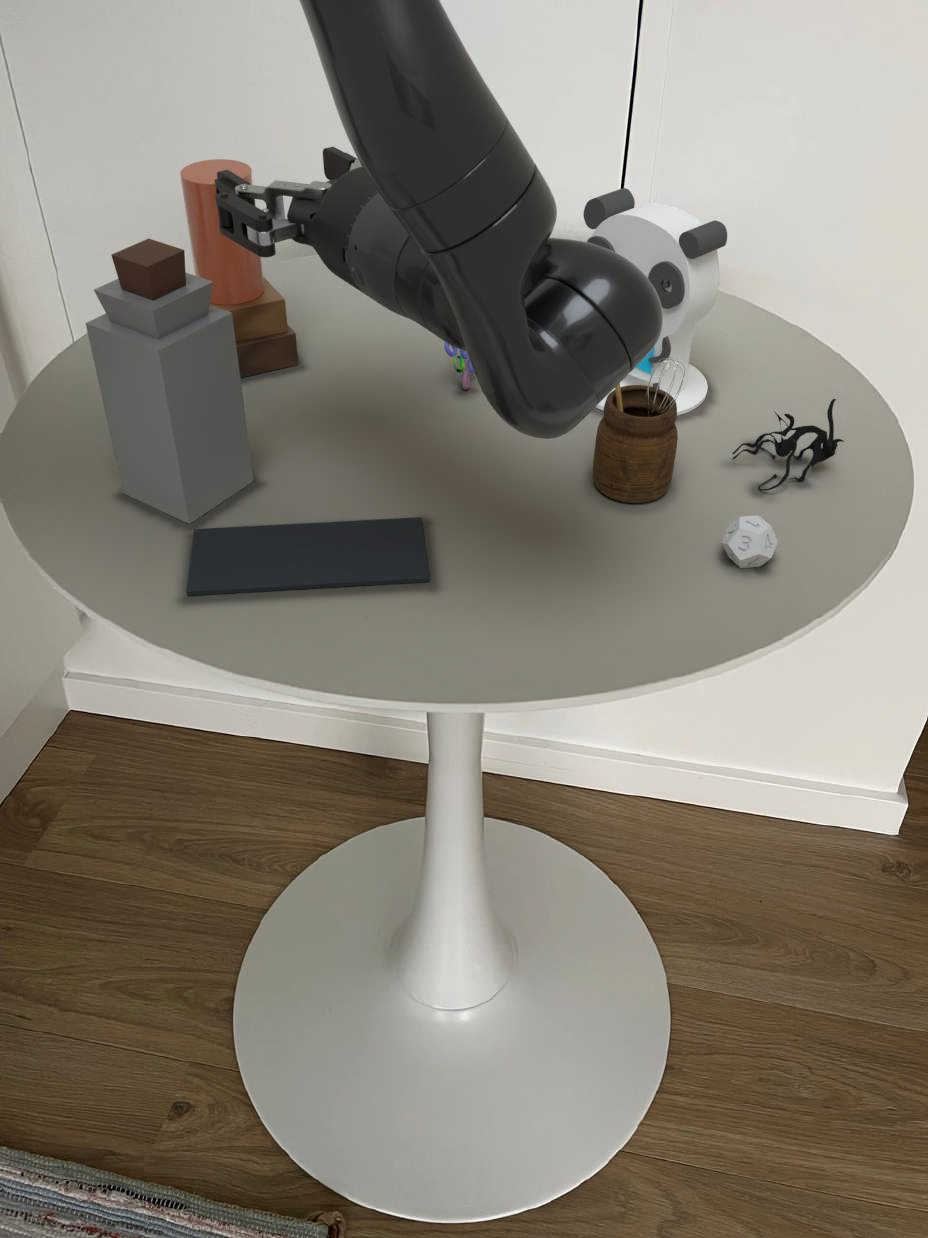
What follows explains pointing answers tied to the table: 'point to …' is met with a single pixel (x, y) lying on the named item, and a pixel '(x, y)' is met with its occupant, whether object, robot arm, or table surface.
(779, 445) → the creature
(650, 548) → the table surface
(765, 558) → the game die
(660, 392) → the utensil holder
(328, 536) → the mat
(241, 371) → the block stack
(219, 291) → the canister
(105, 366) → the perfume bottle
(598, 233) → the panda figurine
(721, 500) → the table surface
